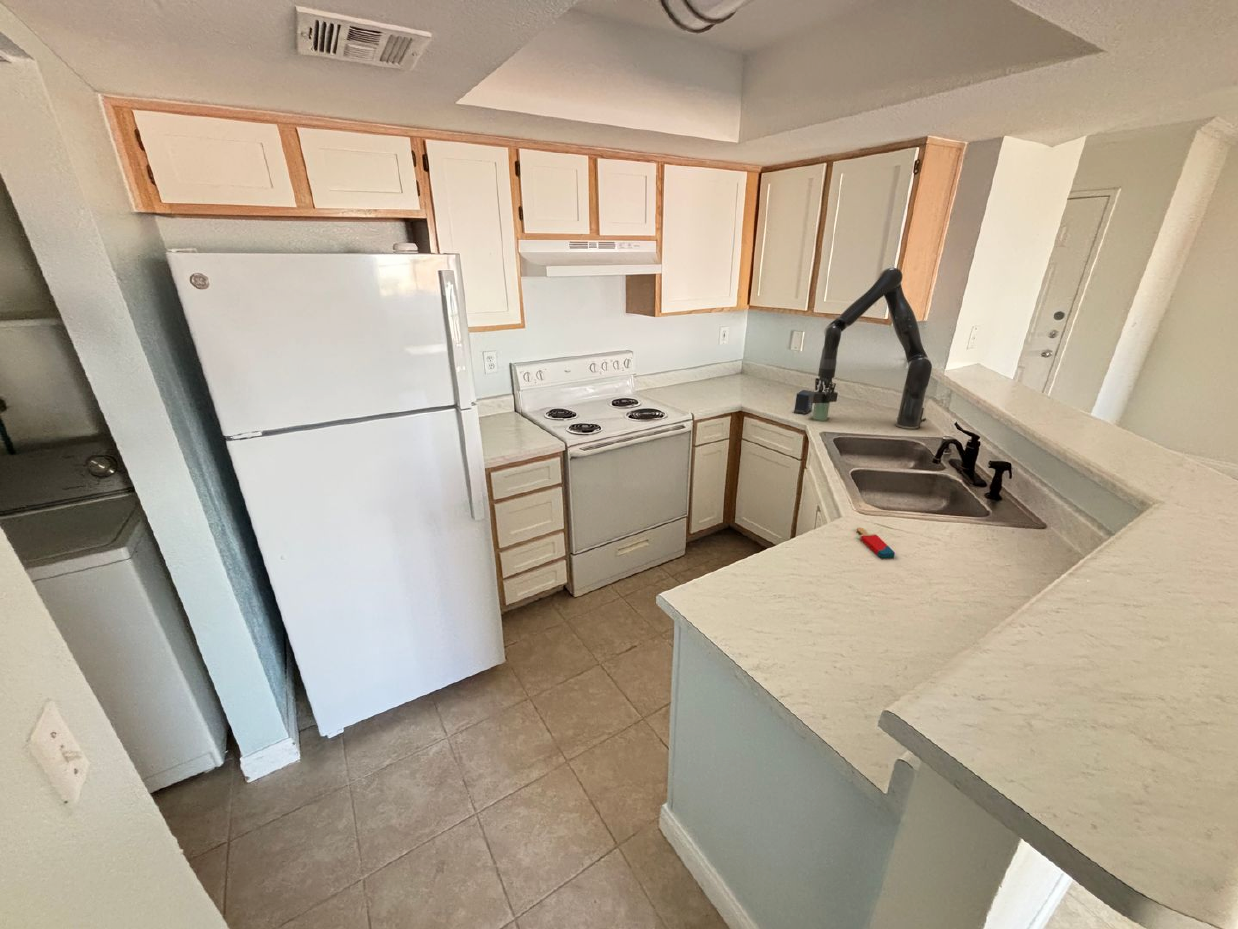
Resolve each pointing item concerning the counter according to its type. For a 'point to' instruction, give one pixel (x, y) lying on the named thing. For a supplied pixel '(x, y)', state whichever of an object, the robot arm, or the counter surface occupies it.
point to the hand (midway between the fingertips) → (822, 400)
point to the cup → (821, 411)
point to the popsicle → (876, 544)
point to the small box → (803, 402)
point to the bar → (821, 397)
